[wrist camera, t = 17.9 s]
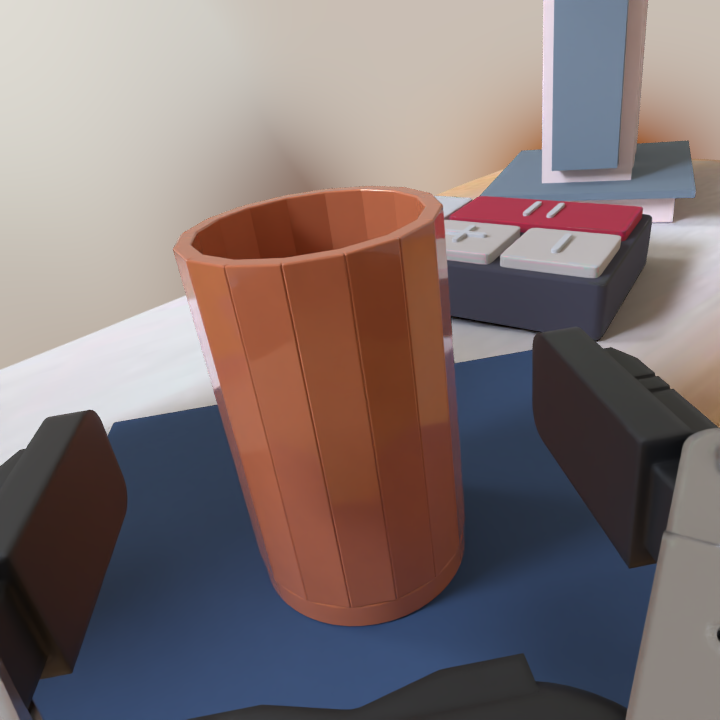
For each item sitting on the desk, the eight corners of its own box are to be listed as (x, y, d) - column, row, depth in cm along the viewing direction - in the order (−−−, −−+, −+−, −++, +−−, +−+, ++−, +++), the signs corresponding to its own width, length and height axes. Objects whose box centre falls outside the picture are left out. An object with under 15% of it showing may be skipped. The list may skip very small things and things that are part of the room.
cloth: (-124, 971, 11) (-136, 963, 11) (116, 429, 27) (113, 422, 27) (911, 759, 12) (917, 747, 12) (551, 353, 28) (551, 346, 28)
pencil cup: (263, 647, 16) (149, 286, 11) (269, 495, 21) (194, 209, 16) (490, 604, 16) (472, 232, 11) (439, 466, 21) (413, 174, 16)
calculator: (608, 268, 26) (328, 235, 34) (598, 355, 28) (336, 305, 36) (656, 200, 34) (419, 186, 42) (645, 272, 36) (422, 246, 44)
